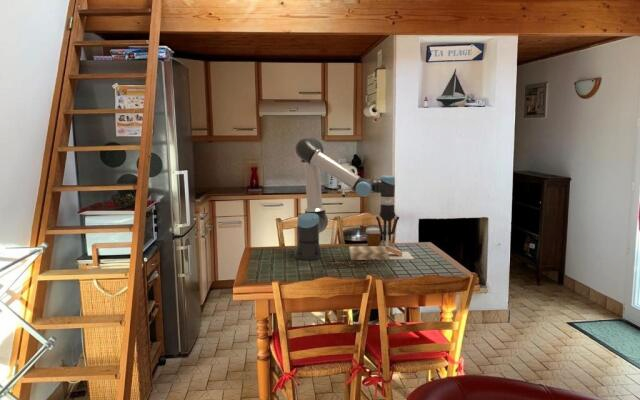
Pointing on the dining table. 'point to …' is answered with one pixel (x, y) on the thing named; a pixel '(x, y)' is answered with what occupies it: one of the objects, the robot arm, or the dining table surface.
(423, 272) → the dining table surface
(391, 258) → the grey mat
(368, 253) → the birch board
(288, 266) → the dining table surface
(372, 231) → the disposable coffee cup
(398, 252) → the pink flat piece
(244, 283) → the dining table surface
